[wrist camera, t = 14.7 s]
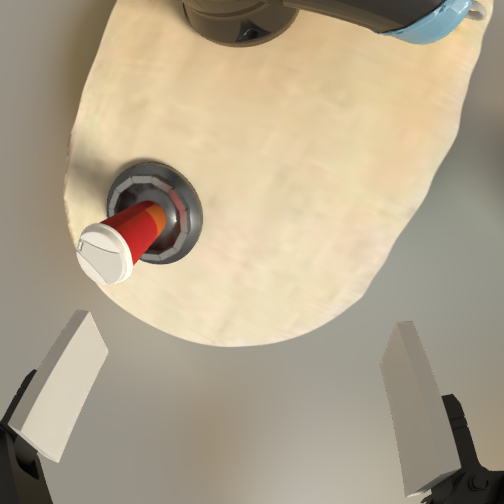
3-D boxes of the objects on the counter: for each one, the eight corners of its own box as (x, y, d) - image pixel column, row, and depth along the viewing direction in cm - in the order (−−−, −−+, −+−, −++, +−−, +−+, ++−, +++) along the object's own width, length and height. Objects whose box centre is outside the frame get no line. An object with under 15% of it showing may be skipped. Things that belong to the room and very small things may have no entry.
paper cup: (122, 224, 45) (68, 265, 33) (138, 183, 42) (81, 214, 29) (161, 250, 46) (117, 300, 33) (182, 210, 43) (136, 253, 30)
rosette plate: (131, 144, 40) (121, 146, 38) (222, 197, 42) (217, 202, 40) (100, 228, 47) (91, 234, 45) (177, 278, 49) (171, 286, 47)
